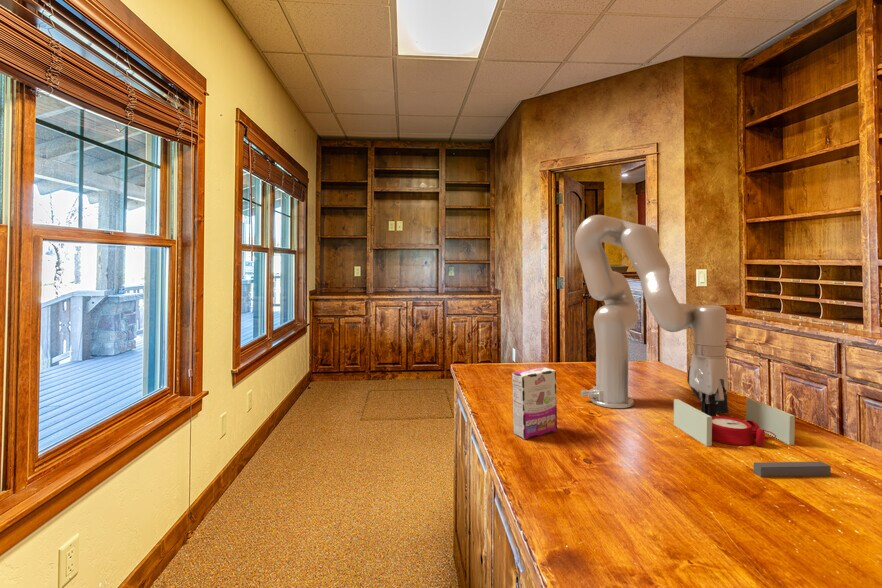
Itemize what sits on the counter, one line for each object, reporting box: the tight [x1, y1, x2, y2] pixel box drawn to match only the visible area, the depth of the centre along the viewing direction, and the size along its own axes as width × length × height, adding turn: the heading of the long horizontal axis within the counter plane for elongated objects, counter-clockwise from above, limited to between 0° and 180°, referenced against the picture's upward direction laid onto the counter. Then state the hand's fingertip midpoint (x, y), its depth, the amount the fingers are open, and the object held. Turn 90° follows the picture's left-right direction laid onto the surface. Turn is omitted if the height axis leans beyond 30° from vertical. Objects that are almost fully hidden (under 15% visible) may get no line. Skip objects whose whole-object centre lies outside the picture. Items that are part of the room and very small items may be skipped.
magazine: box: [686, 366, 729, 414], centre depth 131 cm, size 17×3×30 cm
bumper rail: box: [752, 461, 832, 478], centre depth 85 cm, size 14×2×2 cm, turn 90°
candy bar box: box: [511, 367, 558, 440], centre depth 108 cm, size 11×5×16 cm, turn 117°
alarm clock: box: [711, 415, 776, 447], centre depth 103 cm, size 10×6×15 cm
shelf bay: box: [673, 397, 796, 447], centre depth 105 cm, size 21×14×7 cm
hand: (708, 416), depth 114 cm, fingers closed
